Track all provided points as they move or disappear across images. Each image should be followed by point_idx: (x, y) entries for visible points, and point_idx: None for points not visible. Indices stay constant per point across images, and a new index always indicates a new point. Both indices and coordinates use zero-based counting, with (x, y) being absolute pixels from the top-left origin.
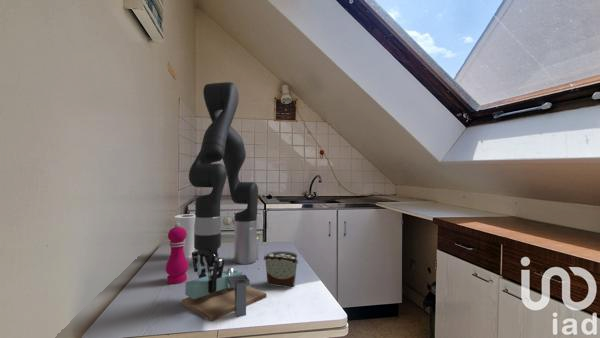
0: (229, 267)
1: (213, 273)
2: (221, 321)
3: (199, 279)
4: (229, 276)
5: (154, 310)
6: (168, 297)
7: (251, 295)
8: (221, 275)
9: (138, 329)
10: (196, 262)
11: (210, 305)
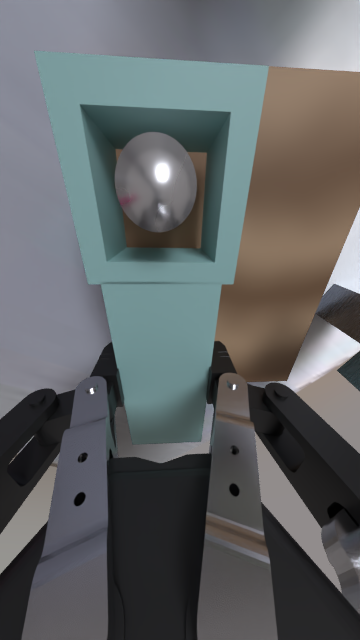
0: (116, 165)
1: (282, 457)
2: (304, 357)
3: (141, 406)
4: (234, 268)
5: (119, 419)
6: (52, 379)
7: (329, 184)
8: (299, 400)
9: (180, 448)
10: (15, 498)
11: (234, 354)
